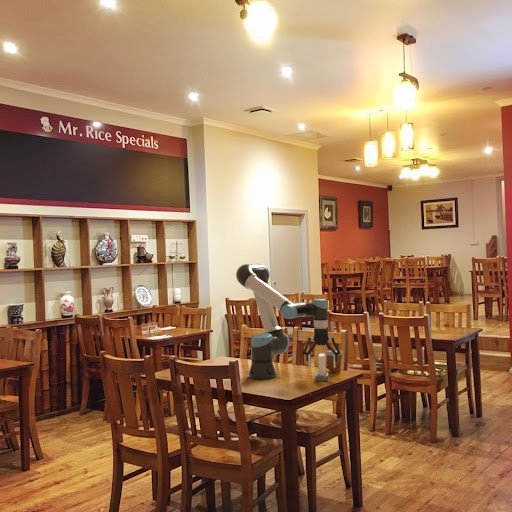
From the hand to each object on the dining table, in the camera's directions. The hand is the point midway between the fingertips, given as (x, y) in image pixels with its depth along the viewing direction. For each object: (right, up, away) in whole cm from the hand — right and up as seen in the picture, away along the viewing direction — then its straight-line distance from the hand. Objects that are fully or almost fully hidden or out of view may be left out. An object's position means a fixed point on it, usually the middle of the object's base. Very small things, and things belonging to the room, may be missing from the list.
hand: (322, 367), depth 296 cm
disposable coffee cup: (+9, -6, +17) cm, 20 cm away
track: (0, -6, 0) cm, 6 cm away
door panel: (0, -5, 0) cm, 5 cm away
